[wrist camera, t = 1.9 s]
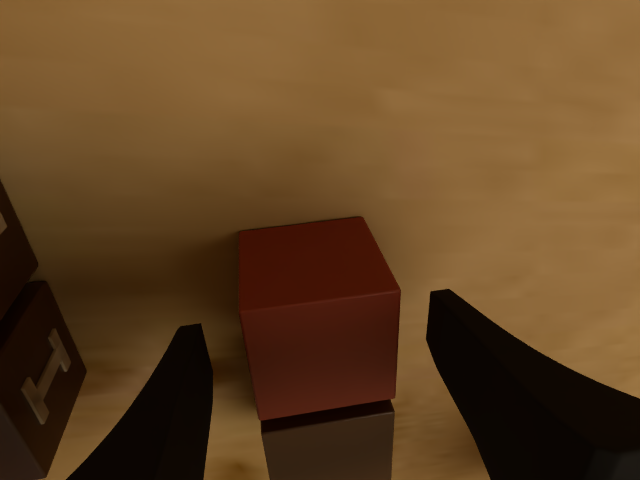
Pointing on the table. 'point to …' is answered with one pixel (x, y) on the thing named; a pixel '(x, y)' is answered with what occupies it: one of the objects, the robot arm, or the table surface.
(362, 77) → the table surface
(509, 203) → the table surface
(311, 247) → the block
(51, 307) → the dark brown cube block
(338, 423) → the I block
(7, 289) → the T block
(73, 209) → the table surface
